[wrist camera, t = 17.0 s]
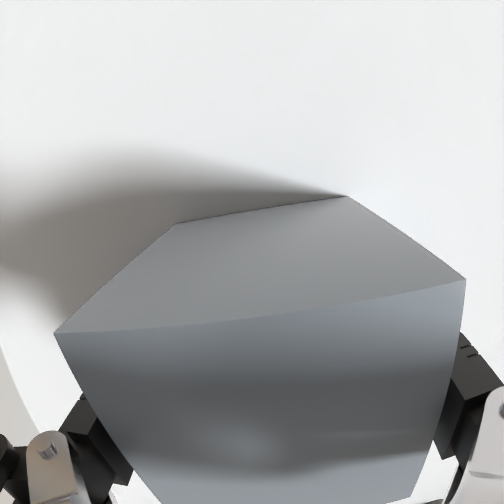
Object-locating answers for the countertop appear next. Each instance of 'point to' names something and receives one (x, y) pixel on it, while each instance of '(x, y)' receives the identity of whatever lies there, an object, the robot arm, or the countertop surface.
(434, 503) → the beverage cup
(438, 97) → the countertop surface
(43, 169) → the countertop surface
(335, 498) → the grey square block
